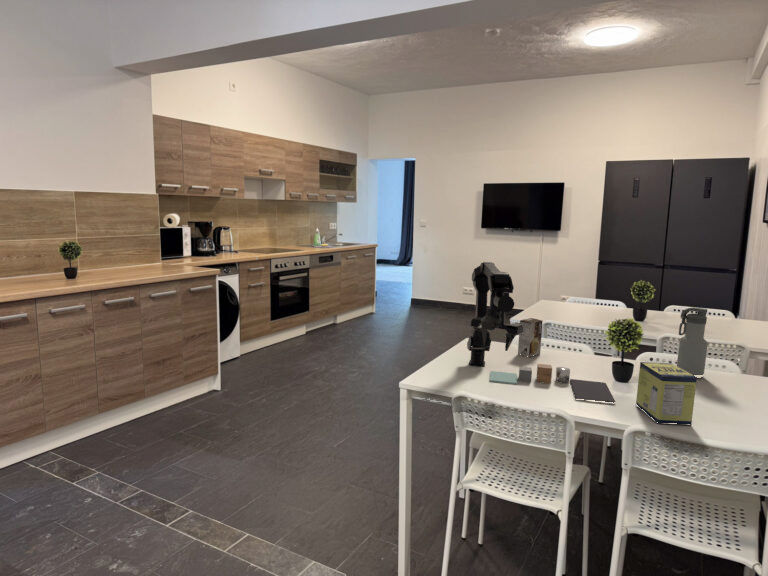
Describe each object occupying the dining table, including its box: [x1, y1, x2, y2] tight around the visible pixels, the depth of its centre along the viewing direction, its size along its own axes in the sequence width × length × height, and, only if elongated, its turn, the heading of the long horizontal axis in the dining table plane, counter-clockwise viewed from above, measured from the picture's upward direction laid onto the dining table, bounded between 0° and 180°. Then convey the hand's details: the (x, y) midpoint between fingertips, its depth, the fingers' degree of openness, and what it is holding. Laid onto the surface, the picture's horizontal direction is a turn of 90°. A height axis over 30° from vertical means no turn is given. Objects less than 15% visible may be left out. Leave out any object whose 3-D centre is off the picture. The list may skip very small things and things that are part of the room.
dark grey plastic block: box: [518, 366, 533, 383], centre depth 193 cm, size 4×4×4 cm
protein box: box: [635, 361, 698, 425], centre depth 161 cm, size 10×16×16 cm
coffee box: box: [517, 317, 543, 358], centre depth 229 cm, size 9×6×16 cm
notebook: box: [569, 378, 616, 403], centre depth 182 cm, size 13×2×21 cm
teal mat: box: [489, 370, 518, 385], centre depth 195 cm, size 12×10×1 cm
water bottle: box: [676, 306, 709, 375], centre depth 204 cm, size 10×10×28 cm
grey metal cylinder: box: [554, 366, 571, 384], centre depth 193 cm, size 5×5×5 cm
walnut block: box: [536, 363, 553, 384], centre depth 193 cm, size 5×5×6 cm
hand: (494, 348), depth 186 cm, fingers open, 9 cm apart
